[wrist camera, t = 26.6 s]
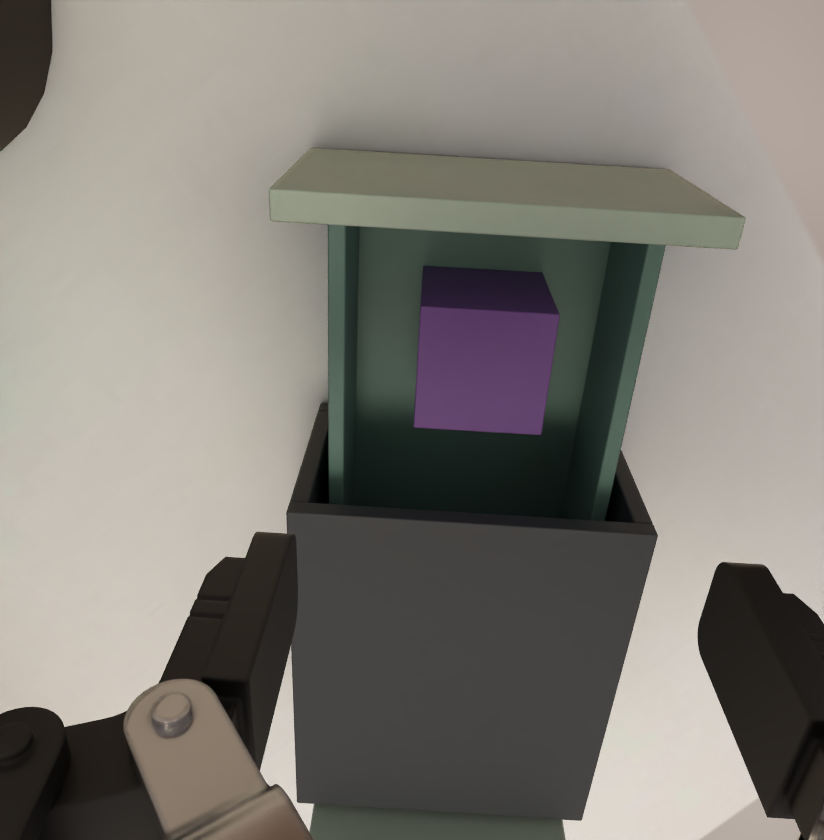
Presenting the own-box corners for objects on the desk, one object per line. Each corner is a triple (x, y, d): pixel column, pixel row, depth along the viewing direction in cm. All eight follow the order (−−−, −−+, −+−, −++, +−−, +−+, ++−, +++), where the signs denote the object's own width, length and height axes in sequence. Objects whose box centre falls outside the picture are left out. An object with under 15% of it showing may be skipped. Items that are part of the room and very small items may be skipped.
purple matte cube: (542, 272, 24) (560, 314, 21) (527, 380, 26) (541, 435, 23) (423, 265, 24) (420, 306, 21) (417, 373, 26) (413, 428, 23)
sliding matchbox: (310, 147, 23) (248, 207, 16) (670, 169, 23) (783, 240, 16) (317, 687, 35) (284, 870, 28) (556, 702, 35) (589, 890, 28)
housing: (320, 402, 28) (286, 512, 22) (609, 420, 28) (658, 535, 22) (322, 662, 35) (296, 803, 29) (555, 676, 35) (581, 821, 29)
